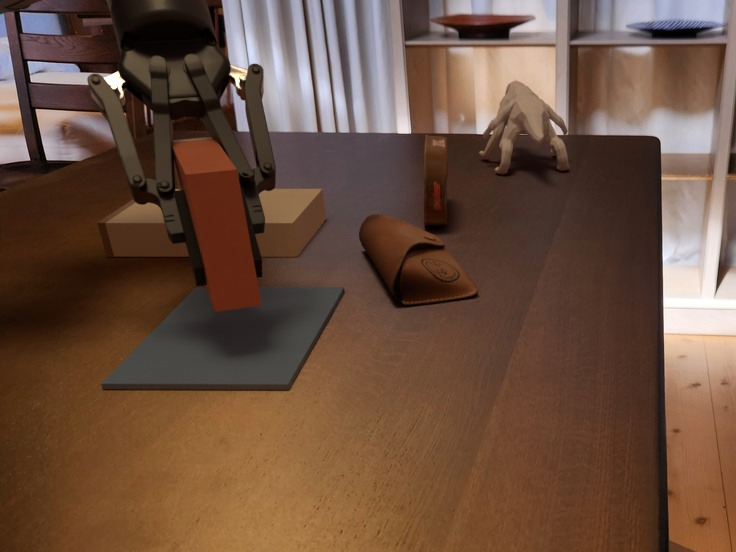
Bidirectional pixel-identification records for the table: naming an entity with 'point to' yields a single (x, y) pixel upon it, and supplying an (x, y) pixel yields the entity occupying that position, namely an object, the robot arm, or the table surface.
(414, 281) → the sunglasses case
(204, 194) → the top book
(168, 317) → the mat
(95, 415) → the table surface
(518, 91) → the beige creature figurine
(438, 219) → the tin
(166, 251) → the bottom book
